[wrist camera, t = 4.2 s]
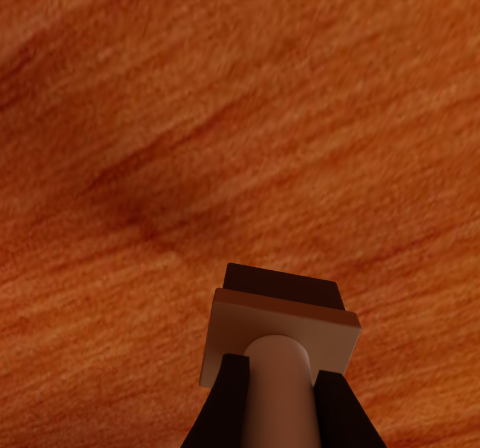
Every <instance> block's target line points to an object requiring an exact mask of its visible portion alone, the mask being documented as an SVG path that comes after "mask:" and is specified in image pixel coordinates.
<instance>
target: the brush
mask: <svg viewBox="0 0 480 448" xmlns="http://www.w3.org/2000/svg"><path fill="white" fill-rule="evenodd" d="M361 330H362V328H361V325H360V322H359V320H358V317H357V314H356V313H354V312H349V311H345V308H344V305H343V302H342V299H341V296H340V293H339V290H338V287H337V284H336V282H333V281H327V280H322V279H316V278H311V277H306V276H300V275H295V274H289V273H284V272H278V271H273V270H267V269H262V268H257V267H251V266H246V265H240V264H235V263H228V265H227V269H226V274H225V279H224V284H223V288H217V289H216V290H215V294H214V298H213V303H212V309H211V314H210V320H209V326H208V332H207V338H206V344H205V350H204V356H203V362H202V368H201V374H200V380H199V385H200V386H203V387H208V388H212V387H213V385H214V382H215V380H216V377H217V375H218V372H219V369H220V366H221V362H222V357H223V355H224V354H226V353H232V354H237V355H243V356H248V357H249V361H250V380H249V387H248V394H247V400H246V407H245V413H244V420H243V426H242V433H241V439H240V446H239V448H322V443H321V436H320V430H319V423H318V416H317V409H316V403H315V396H314V389H313V387H314V384H315V381H316V378H317V375H318V373H319V370H326V371H331V372H337V373H342V375H343V376H344V374H345V371H346V369H347V366H348V364H349V361H350V358H351V356H352V353H353V351H354V348H355V345H356V343H357V340H358V338H359V335H360V333H361Z"/></svg>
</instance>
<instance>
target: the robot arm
mask: <svg viewBox="0 0 480 448" xmlns="http://www.w3.org/2000/svg"><path fill="white" fill-rule="evenodd" d="M249 380H250V361H249V357H248V356H243V355H237V354H232V353H226V354H224V355H223V357H222V362H221V366H220V369H219V372H218V375H217V377H216V380H215V382H214V385H213V387H212V389H211V392H210V394H209V396H208V398H207V400H206V402H205V404H204V406H203V408H202V410H201V412H200V414H199V416H198V418H197V420H196V421H195V423H194V425H193V427H192V429H191V430H190V432H189V434H188V435H187V437H186V439H185V440H184V442H183V444H182V446H181V447H180V448H239V446H240V439H241V433H242V426H243V420H244V413H245V407H246V400H247V394H248V387H249ZM313 389H314V396H315V403H316V409H317V416H318V423H319V430H320V436H321V443H322V448H387V446H386V445H385V443H384V442H383V440H382V439H381V437H380V436H379V434H378V433H377V431H376V429H375V428H374V426H373V425H372V423H371V421H370V420H369V418H368V416H367V415H366V413H365V411H364V410H363V408H362V406H361V405H360V403H359V401H358V400H357V398H356V396H355V395H354V393H353V391H352V390H351V388H350V386H349V385H348V383H347V381H346V380H345V378H344V376H343V375H342V373H337V372H331V371H326V370H319V373H318V375H317V378H316V381H315V384H314V387H313Z"/></svg>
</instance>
